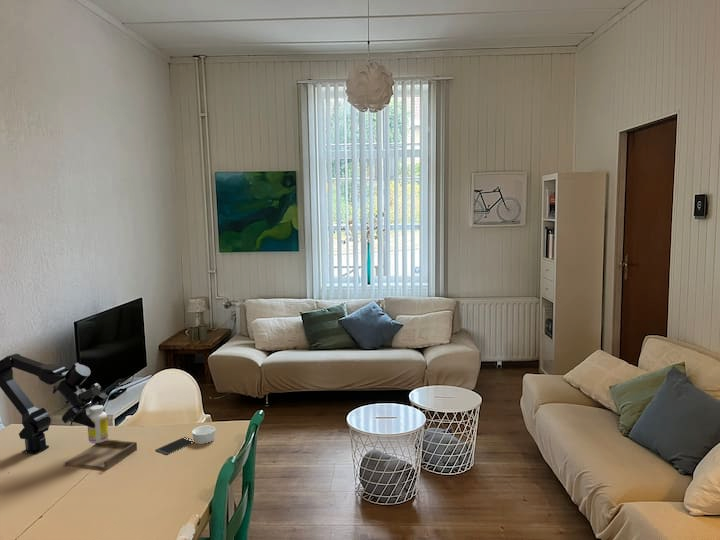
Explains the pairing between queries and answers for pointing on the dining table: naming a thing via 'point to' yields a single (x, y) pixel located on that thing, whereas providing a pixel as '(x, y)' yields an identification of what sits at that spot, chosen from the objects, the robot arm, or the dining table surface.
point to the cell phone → (174, 446)
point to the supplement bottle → (98, 425)
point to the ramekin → (203, 434)
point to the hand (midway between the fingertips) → (100, 423)
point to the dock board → (103, 454)
